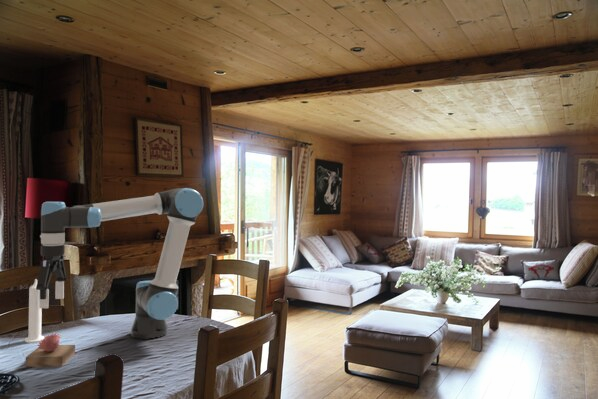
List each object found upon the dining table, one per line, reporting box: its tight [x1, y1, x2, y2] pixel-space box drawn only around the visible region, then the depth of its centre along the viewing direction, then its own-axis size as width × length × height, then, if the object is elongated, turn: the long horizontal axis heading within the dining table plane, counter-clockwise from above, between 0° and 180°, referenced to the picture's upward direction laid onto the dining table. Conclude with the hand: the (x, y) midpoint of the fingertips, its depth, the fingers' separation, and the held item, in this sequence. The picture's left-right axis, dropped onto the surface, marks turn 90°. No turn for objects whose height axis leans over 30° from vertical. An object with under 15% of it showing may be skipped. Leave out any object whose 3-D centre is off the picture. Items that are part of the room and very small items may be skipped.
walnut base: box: [25, 344, 76, 368], centre depth 161 cm, size 12×12×4 cm
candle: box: [24, 278, 45, 344], centre depth 182 cm, size 7×7×25 cm
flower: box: [37, 333, 61, 352], centre depth 161 cm, size 8×8×6 cm
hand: (52, 303), depth 161 cm, fingers open, 13 cm apart
